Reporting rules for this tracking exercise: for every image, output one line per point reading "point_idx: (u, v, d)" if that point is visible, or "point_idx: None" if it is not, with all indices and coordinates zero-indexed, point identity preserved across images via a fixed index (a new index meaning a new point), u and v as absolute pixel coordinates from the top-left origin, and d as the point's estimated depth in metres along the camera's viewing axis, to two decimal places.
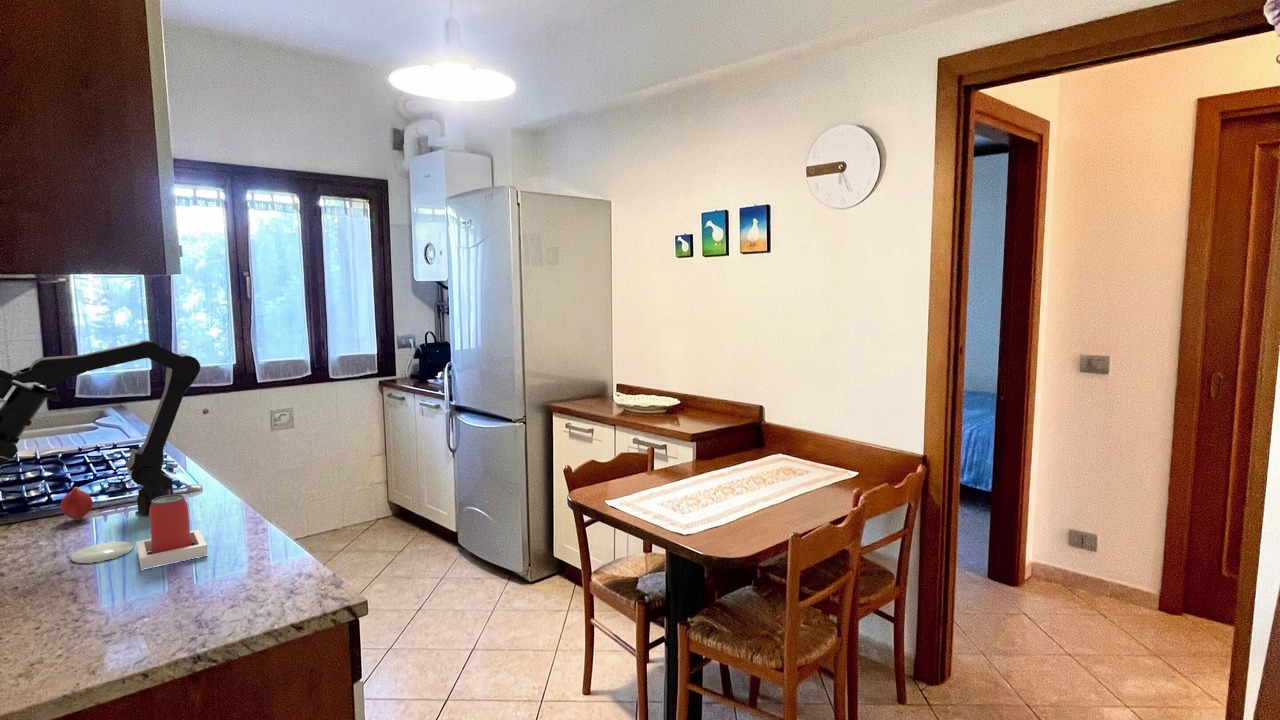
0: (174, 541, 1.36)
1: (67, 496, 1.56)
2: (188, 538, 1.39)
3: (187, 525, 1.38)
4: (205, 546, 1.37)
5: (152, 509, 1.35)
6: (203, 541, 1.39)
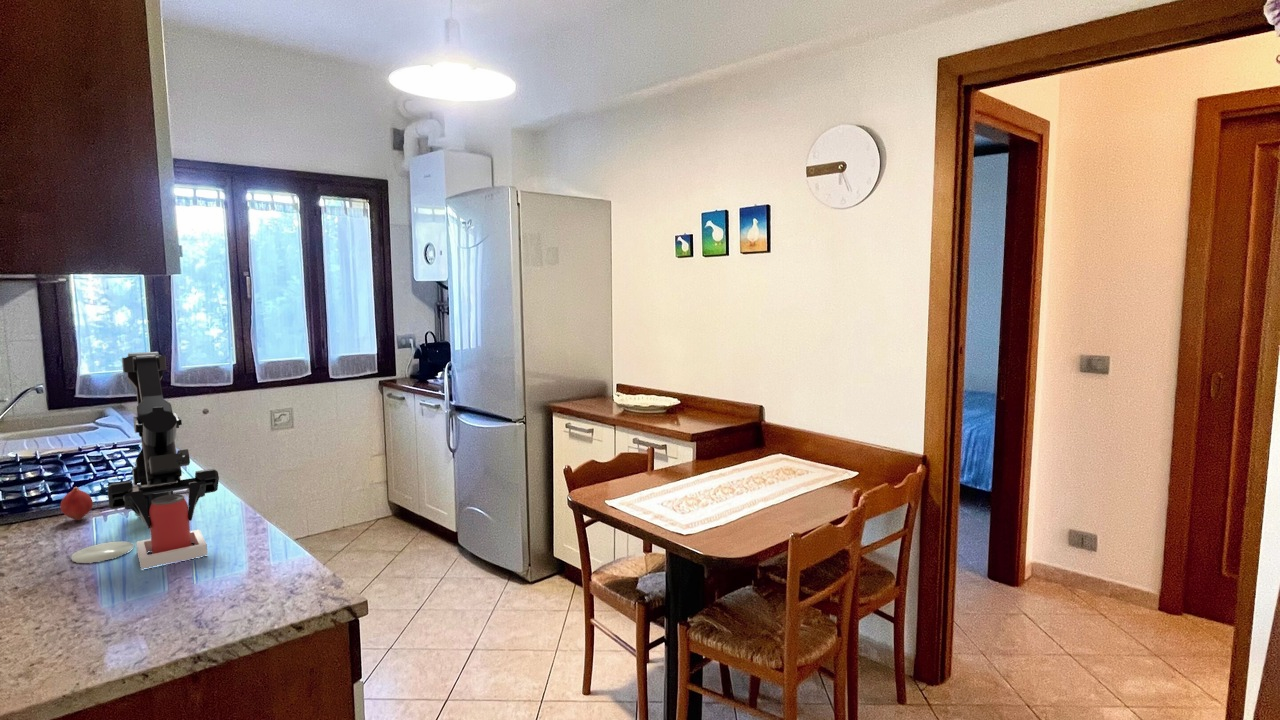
0: (174, 541, 1.36)
1: (67, 496, 1.56)
2: (188, 538, 1.39)
3: (187, 525, 1.38)
4: (205, 546, 1.37)
5: (152, 509, 1.35)
6: (203, 541, 1.39)
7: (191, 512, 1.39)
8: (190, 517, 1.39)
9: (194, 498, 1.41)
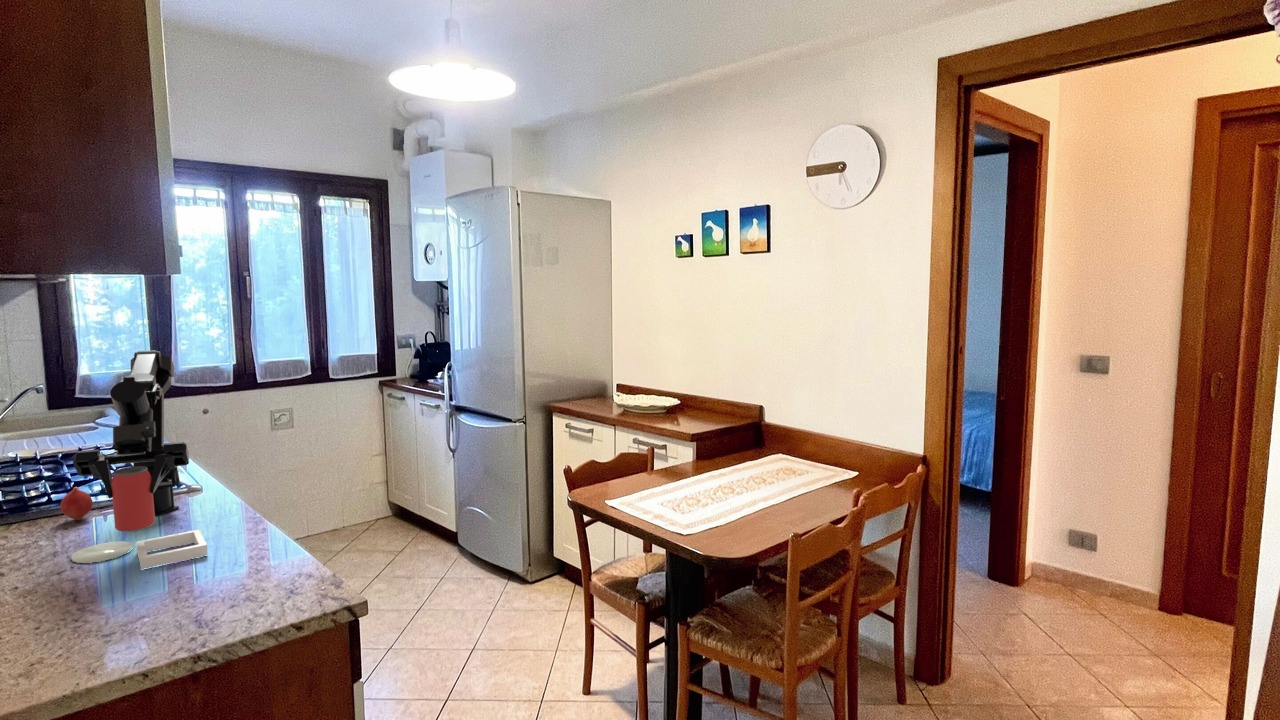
0: (133, 513, 1.34)
1: (67, 496, 1.56)
2: (149, 511, 1.37)
3: (149, 498, 1.37)
4: (205, 546, 1.37)
5: (112, 479, 1.34)
6: (203, 541, 1.39)
7: (153, 485, 1.37)
8: (151, 490, 1.37)
9: (158, 471, 1.39)
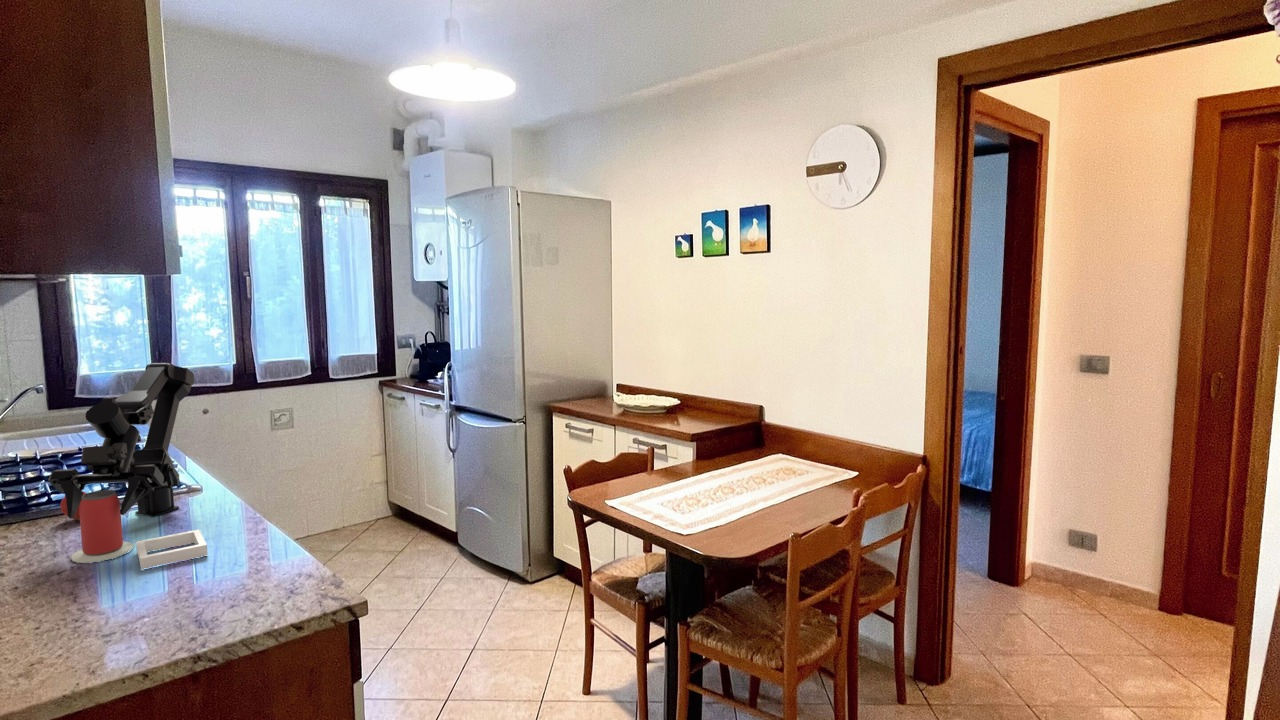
0: (95, 538, 1.35)
1: None
2: (114, 536, 1.38)
3: (113, 523, 1.37)
4: (205, 546, 1.37)
5: (80, 503, 1.36)
6: (203, 541, 1.39)
7: (123, 506, 1.38)
8: (121, 511, 1.37)
9: (131, 492, 1.39)
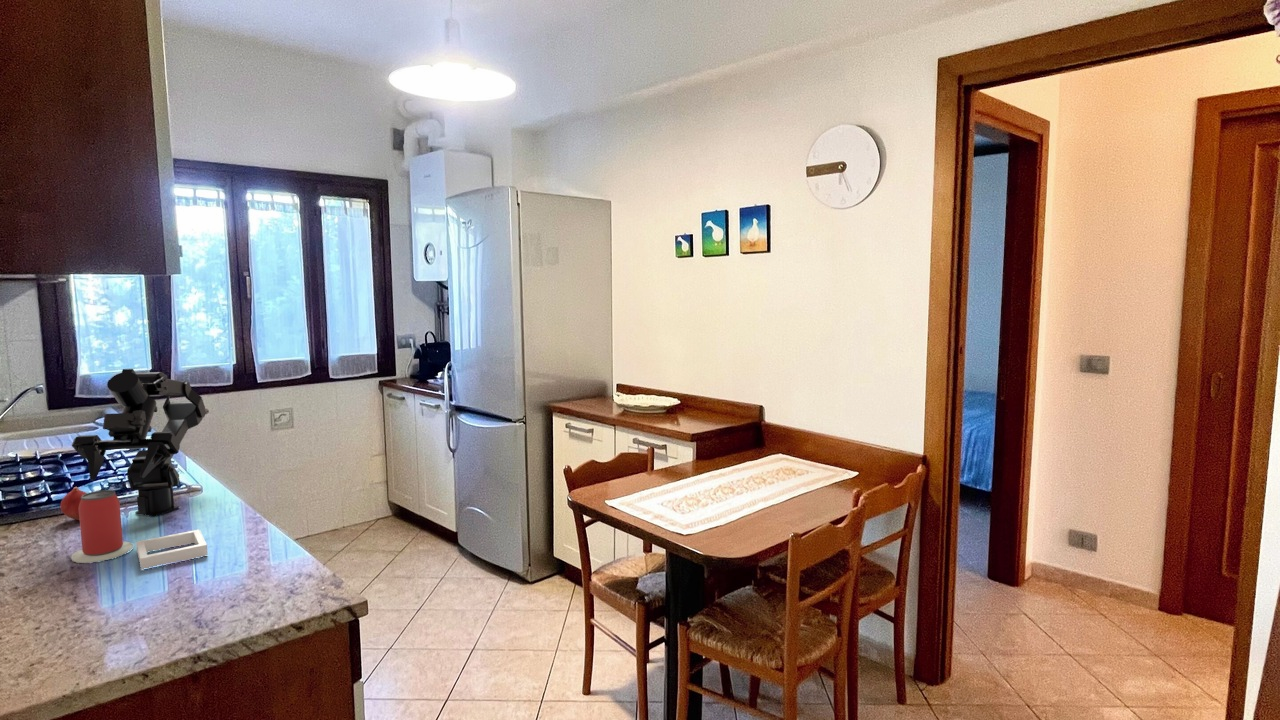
0: (95, 538, 1.35)
1: (67, 496, 1.56)
2: (113, 536, 1.38)
3: (113, 523, 1.37)
4: (205, 546, 1.37)
5: None
6: (203, 541, 1.39)
7: (143, 470, 1.46)
8: (141, 474, 1.46)
9: (150, 457, 1.48)
